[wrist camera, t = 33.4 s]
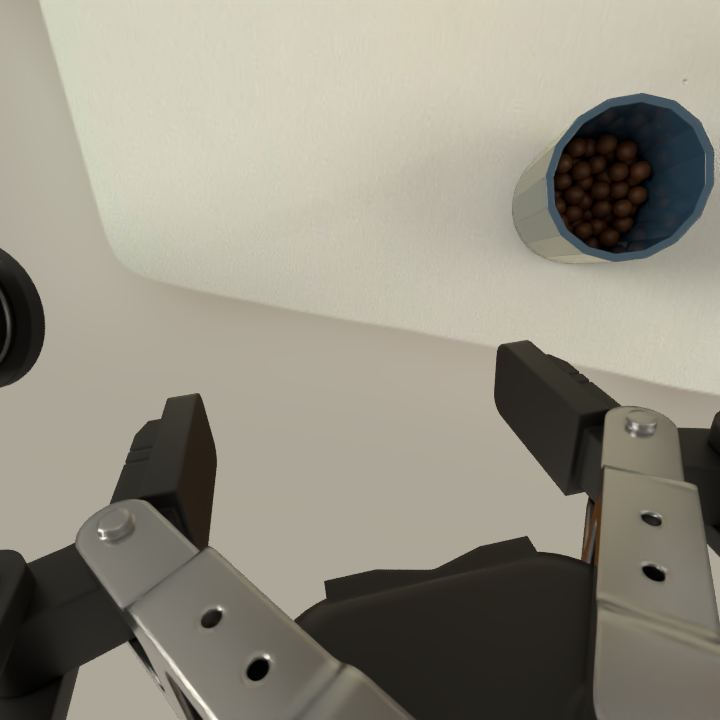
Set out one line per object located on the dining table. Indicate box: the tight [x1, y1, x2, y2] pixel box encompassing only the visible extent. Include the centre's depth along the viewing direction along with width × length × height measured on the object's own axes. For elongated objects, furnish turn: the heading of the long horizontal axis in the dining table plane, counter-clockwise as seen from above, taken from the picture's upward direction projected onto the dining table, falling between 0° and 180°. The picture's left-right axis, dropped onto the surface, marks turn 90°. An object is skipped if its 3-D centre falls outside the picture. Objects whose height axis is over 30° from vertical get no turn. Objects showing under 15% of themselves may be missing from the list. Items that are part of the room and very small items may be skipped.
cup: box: [512, 93, 714, 263], centre depth 24 cm, size 7×7×8 cm
